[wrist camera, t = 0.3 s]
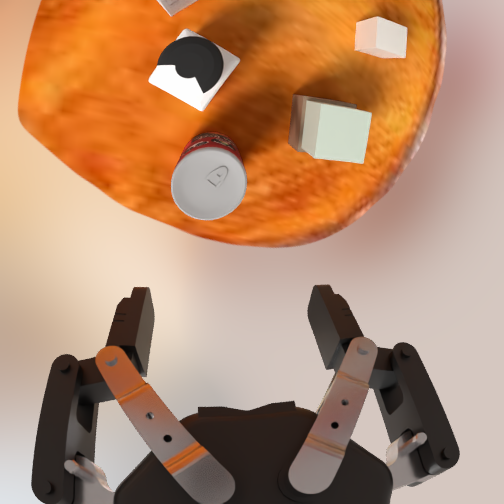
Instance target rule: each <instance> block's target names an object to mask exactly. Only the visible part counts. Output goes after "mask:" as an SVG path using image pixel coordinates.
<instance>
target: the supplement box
mask: <svg viewBox="0 0 504 504" xmlns="http://www.w3.org/2000/svg"><path fill="white" fill-rule="evenodd" d="M157 1H158V2H159V3H160V4H161V6H162V7H163V8H164V9H165V10H166V11H167V12H168V14H169V15H170V16H173V15H175V14H176V13H178V12H179V11H181V10H182V9H184V8H186V7H187V6H189V5H191V4H193V3H194V2H196V1H198V0H157Z"/></svg>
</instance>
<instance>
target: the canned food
mask: <svg viewBox="0 0 504 504" xmlns="http://www.w3.org/2000/svg"><path fill="white" fill-rule="evenodd" d="M246 187H247V175H246V171H245V168H244V165H243V162H242V159H241V156H240V154H239V151H238V148H237V146H236V145H235V143H234V142H233V141H232V140H231V139H230V138H229V137H228V136H226V135H224V134H221V133H217V132H207V133H202V134H200V135H197V136H196V137H194V138H193V139H192V140H191V141H190V142H189V143H188V144H187V145H186V147H185V148H184V150H183V152H182V154H181V156H180V159H179V161H178V163H177V165H176V167H175V170H174V172H173V175H172V180H171V192H172V196H173V199H174V201H175V203H176V205H177V206H178V207H179V209H180V210H182V211H183V212H184V213H185V214H187V215H189V216H190V217H193V218H196V219H200V220H213V219H218V218H221V217H223V216H226V215H227V214H229V213H231V212H232V211H233V210H234V209H235V208H236V207H237V206H238V205H239V204H240V203H241V201H242V199H243V197H244V195H245V192H246Z"/></svg>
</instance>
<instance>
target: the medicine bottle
mask: <svg viewBox="0 0 504 504" xmlns="http://www.w3.org/2000/svg"><path fill="white" fill-rule="evenodd" d="M239 62H240V59H239V58H238V57H236V56H235V55H233V54H232V53H230V52H228V51H227V50H225V49H223V48H222V47H220V46H218V45H216V44H215V43H213V42H211V41H210V40H208V39H206V38H204V37H202V36H200V35H199V34H197V33H195V32H193V31H191V30H189V29H184V30H183V31H182V33H181V34H180V35H179V36H178V38H177V39H176V40H175V41H174V42H172V43H171V44H169V45H168V46H167V47H166V48H165V49H164V51H163V52H162V53H161V55H160V57H159V60H158V64H157V67H156V69H155V70H154V72H153V73H152V75H151V76H150V78H149V82H150V83H151V84H153V85H155V86H157V87H159V88H161V89H163V90H165V91H166V92H168V93H170V94H172V95H174V96H175V97H177V98H179V99H181V100H182V101H184V102H186V103H188V104H189V105H191V106H193V107H195V108H196V109H198V110H200V111H203V110H204V109H205V108H206V107H207V105H208V104H209V102H210V101H211V99H212V98H213V97H214V95H215V94H216V93H217V91H218V90H219V88H220V87H221V86H222V84H223V83H224V82H225V80H226V79H227V78H228V76H229V75H230V74H231V72H232V71H233V70H234V69H235V67H236V66H237V65H238V64H239Z"/></svg>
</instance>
